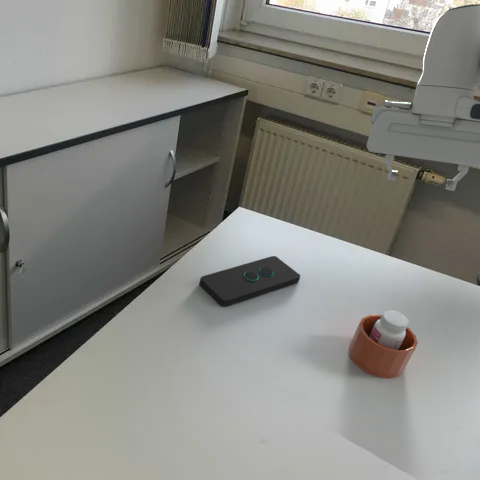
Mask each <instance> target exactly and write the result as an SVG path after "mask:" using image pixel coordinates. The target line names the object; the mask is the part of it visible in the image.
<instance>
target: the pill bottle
mask: <svg viewBox="0 0 480 480" xmlns="http://www.w3.org/2000/svg"><path fill="white" fill-rule="evenodd" d="M381 315H382V316H381V318H380V319H379V320H378V321H377V322H376V323H375V326H374V328H373V330H372V332H371V334H370V336H369V338H371V339H372V340H373V341H375V342H376V343H378V344H380V345H382V346H384V347H386V348H390V349H394V350H398V349H399V347H400V345H401V343H402V341H403V339H404V338H405V335H406V331H405V330H406V328H407V327H408V326H409V323H410V322H409V319H408V318H407V317H406V316H405V315H404V314H403V313H401V312H399V311H397V310H392V309H391V310H390V309H389V310H385V311H384V312H383V313H382V314H381Z"/></svg>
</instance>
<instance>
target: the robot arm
mask: <svg viewBox="0 0 480 480" xmlns="http://www.w3.org/2000/svg"><path fill="white" fill-rule="evenodd" d="M424 51H425V52H424V56H423V59H422V65H423V66H422V74H421V76H420V78H419V80H418V81H417V84H416V86H415V91H414V95H413V98H412V102H404V101H403V102H402V101H401V102H398V101H396V102H395V101H393V100H385V101H384V102H380V103H378V104H376V105H375V106H374V107H373V109H372V114H371V116H370V117H371V118H370V121H371V123H372V128H371V130H370V133H369V135H368V139H367V143H366V148H367V150H368V151H369V152H371V153H377V154H384V155H385V157H384V163H385V165H386V168H387V171H388V173H387V176H386V181H389V182H396V181H397V176H398V170H394V169H393V167H392V166H393V165H392V164H391V162H394V159H395V156H398V157H404V158H413V159H418V160H419V159H420V160H424V161H425V160H426V161H433V162H441V163H446V164H447V163H448V164H455V165H458V167H457V171H458V172H459V173H457V174H456V175H455V176H454V177H453V179H451V178H450V179H449V178H447V179H446V184H445V186H444V190H446V191H451V192H455V191H456V187H457V185H458V182H459V181H460V180H461V179H463V177H464V176H466V175H467V174H468V172H469V170H470V167H475V168H480V100H476V99H475V98H474V96H475V92H476V89H477V88H478V86H480V3H475V4H465V5H459V6H456V7H453V8H449V9H448V10H446V11H444V12H443V13H442V14H441V15H440V16H439V17H438V18H437V19H436V21H435V23H434V25H433V27H432V30H431V32H430V35H429V37H428V41H427V44H426V48H425V50H424Z"/></svg>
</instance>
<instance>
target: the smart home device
mask: <svg viewBox="0 0 480 480" xmlns="http://www.w3.org/2000/svg"><path fill="white" fill-rule="evenodd" d="M300 278H301V274H300V273H298V272H297V271H296V270H294V269H293V268H292V267H291V266H289V265H288V264H287V263H285V262H284V261H283V260H282V259H280V258H279V257H278V256H276V255H272V256H267V257H263V258H261V259H257V260H254V261H249V262H247V263H243V264H240V265H237V266H233V267H230V268H226V269H223V270H219V271H216V272H213V273H209V274H206V275H202V276H200V279H199V284H198V286H200V287H201V288H202V289H203V290H204V291H205V292H206V293H207V294H208V295H209V296H210V297H211V298H212V299H213V300H214V301H215V302H216V303H217V304H218V305H219V306H221V307H223V308H227V307H230V306H233V305H236V304H239V303H243V302H246V301H249V300H251V299H254V298H257V297H260V296H263V295H267V294H270V293H272V292H275V291H279V290H281V289H285V288H287V287H291V286H294V285H296V284H298V283H299V281H300Z"/></svg>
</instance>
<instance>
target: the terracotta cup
mask: <svg viewBox="0 0 480 480" xmlns="http://www.w3.org/2000/svg"><path fill="white" fill-rule="evenodd" d="M381 316H382V314H368V315H366V316H364V317H362V318H361V319H360V322H359V323H358V326H357V327H356V329H355V333H354V335H353V337H352V339H351V342H350V344H349V347H348V353H349V357H350V358H351V360H352V362H353V363H354V364H355V365H356V366H357V367H358V368H360V369H361V370H362V371H364V372H366V373H368V374H370V375H372V376H375V377H378V378H383V379H394V378H398V377H399V376H401V375H402V374H403V373H404V371H405V369H406V367H407V366H408V363H409V362H410V360H411V358H412V356H413V354H414V352H415V350H416V348H417V346H418V344H419V343H418V342H419V341H418V339H417V336H416V334H415V333H414V332H413V331H412V330H411V328H410V327H408V326H407V328H406V330H405V331H406V335H405V338H404V339H403V341H402V343H401V345H400V347H399V349H398V350H394V349H390V348H386V347H384V346H382V345H380V344H378V343H376V342H375V341H373V340H372V339H371V338H369V336H370V334H371V332H372V330H373V328H374V326H375V323H376V322H377V321H378V320H379V319H380V318H381Z"/></svg>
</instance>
